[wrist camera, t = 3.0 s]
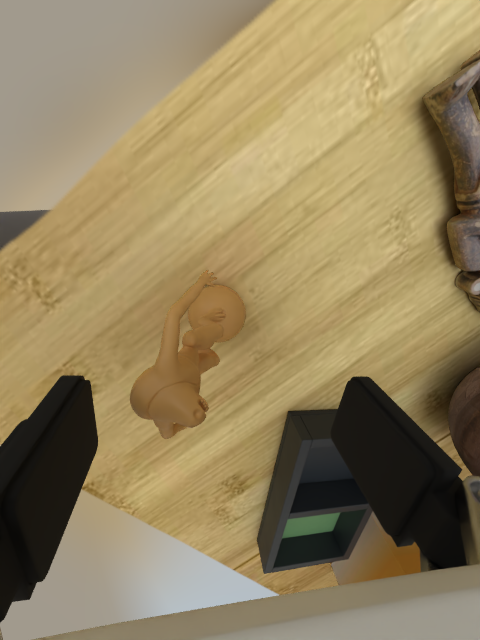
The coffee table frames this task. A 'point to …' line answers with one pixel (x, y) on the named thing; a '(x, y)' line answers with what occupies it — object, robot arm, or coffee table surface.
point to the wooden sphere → (467, 420)
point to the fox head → (376, 557)
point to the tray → (310, 499)
